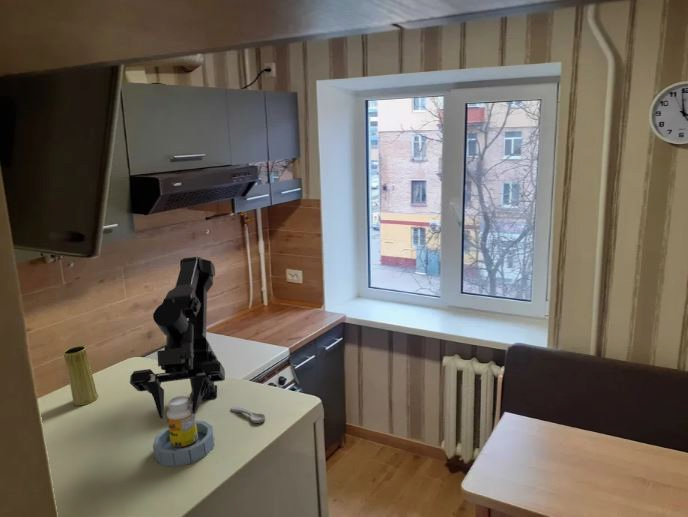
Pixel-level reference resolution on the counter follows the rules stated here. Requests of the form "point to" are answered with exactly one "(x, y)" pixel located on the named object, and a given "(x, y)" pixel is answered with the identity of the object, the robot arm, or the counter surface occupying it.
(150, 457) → the counter surface
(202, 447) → the bowl
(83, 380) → the vase
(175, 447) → the supplement bottle
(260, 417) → the spoon
